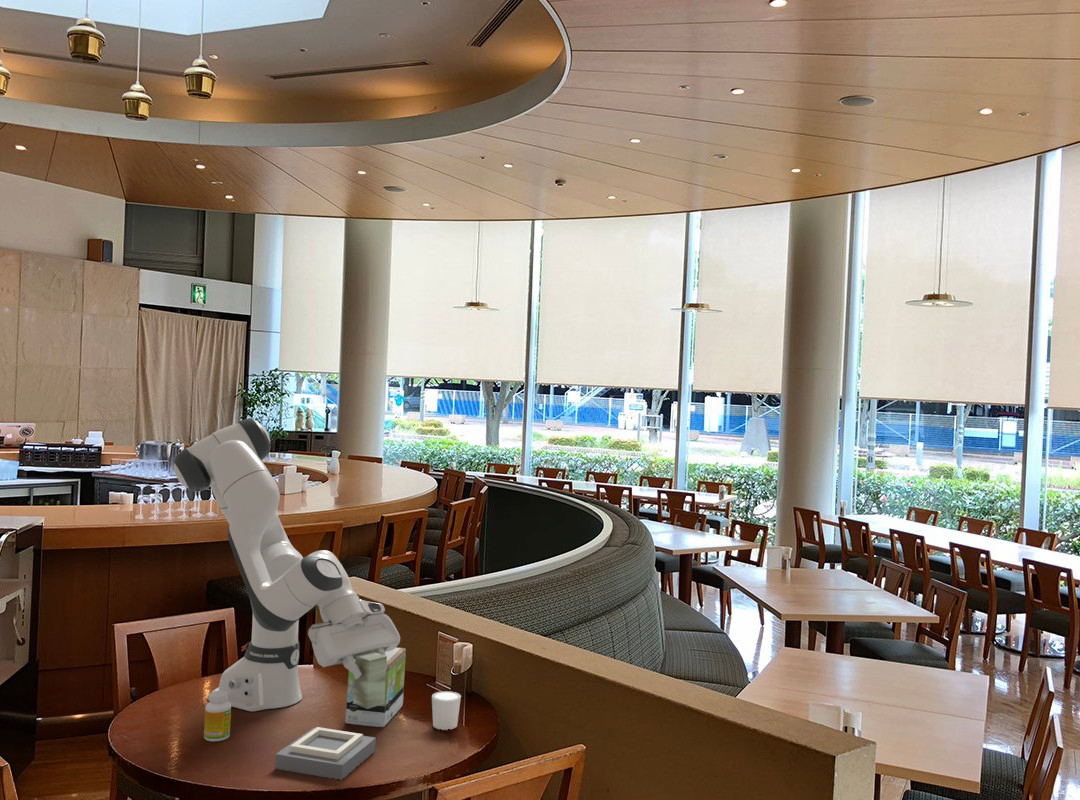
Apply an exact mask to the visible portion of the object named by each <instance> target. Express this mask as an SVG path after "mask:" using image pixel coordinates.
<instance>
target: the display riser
mask: <svg viewBox="0 0 1080 800" xmlns="http://www.w3.org/2000/svg"><path fill="white" fill-rule="evenodd" d="M376 739H377V738H376V737H375V736H367V735H364V734H363V733H357V732H350V731H346V730H345V731H344V730H338V729H334V728H333V729H332V728H325V727H321V726H316V727H312V728H311V729H310V730H309V731H307V732H306V733H304V734H303V735H301V736H300V737H298V738H297V739H295V740H294V741H292V742H291V743H290V744H288V745H287V746H285V747H283V748H282V749H281V750H279V751H278V752H276V753H275V760H274V761H275V763H274V765H275V766H274V769H275V770H279V771H280V770H281V771H287V772H290V773H291V772H293V773H298V774H305V775H308V776H309V775H310V776H313V777H314V776H316V777H321V778H326V777H327V779H332V778H334V779H333V780H337V779H340V780H339V781H343V780H344V779H345V778H346V777H347V776H348V775H350V774H351V773H352V772H353V771H354V770H356V769H357V768H358V767H359V766H360V765H361V764H362V763H364V762H365V761H366V760H367V759H368V758H370V757H371V756H372V755H373V754H375V752H376V743H377V741H376ZM371 754H372V755H371ZM370 755H371V756H370ZM366 758H367V759H366ZM365 759H366V760H365ZM364 760H365V761H364ZM363 761H364V762H363ZM360 763H361V764H360ZM357 766H358V767H357ZM356 767H357V768H356ZM350 772H351V773H350ZM349 773H350V774H349ZM343 778H344V779H343ZM342 779H343V780H342Z"/></svg>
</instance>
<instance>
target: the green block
mask: <svg viewBox="0 0 1080 800" xmlns="http://www.w3.org/2000/svg"><path fill="white" fill-rule="evenodd" d="M386 663H387V656H384V655H382V654H379V653H376V652H369V653H364V654H360V655H356V658H355V664H356V665H357V666H358V667H362V668H363V671H364V672H365V675H364V676H363V677H362V678H358V679H355V678H354V699H353V703H354V704H357V705H359V706H362V707H364V708H366V709H368V708H372V707H375V706H378V705H381V704H385V683H386Z"/></svg>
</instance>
